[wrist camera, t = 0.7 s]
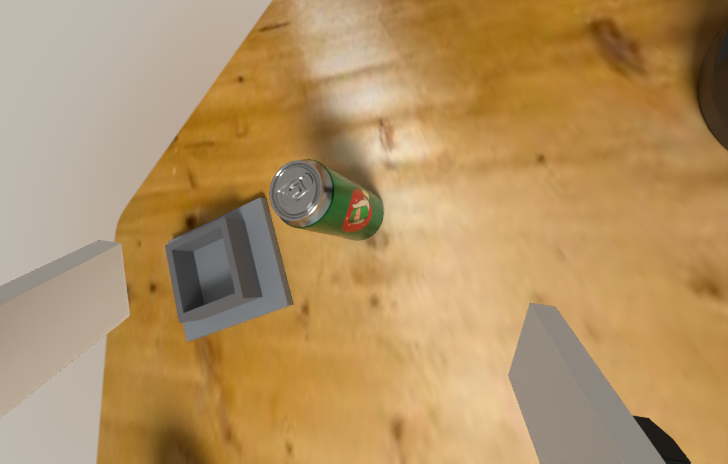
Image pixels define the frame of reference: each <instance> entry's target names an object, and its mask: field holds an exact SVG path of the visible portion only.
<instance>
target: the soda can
mask: <svg viewBox="0 0 728 464" xmlns="http://www.w3.org/2000/svg"><path fill="white" fill-rule="evenodd" d="M269 195H270V202H271V205H272V208H273V210H274V211H275V212H276V214H277V215H278V216H279V217H280V218H281V219H282V220H283V221H284V222H285V223H286V224H288V225H290V226H292V227H295V228H299V229H304V230H309V231H313V232H318V233H323V234H327V235H332V236H337V237H341V238H346V239H351V240H357V241H359V240H365V239H367V238H369V237H371V236H373V235H374V234H375V233H376V232H377V230H378V229H379V228H380V226H381V223H382V220H383V214H384V213H383V206H382V203H381V201H380V199H379V198H378V197H377V195H375V194H374V193H373V192H371V191H369V190H368V189H366V188H364V187H362V186H361V185H359V184H357V183H355V182H353V181H352V180H350V179H348V178H346V177H345V176H343V175H341V174H339V173H337V172H336V171H334V170H332V169H330V168H329V167H327V166H325V165H323V164H321V163H320V162H318V161H315V160H310V159H304V160H298V161H292V162H289V163H287V164H285V165H284V166H282V167H281V168H280V169H279V170H278V171H277V173H276V174H275V176H274V178H273V180H272V182H271V186H270V192H269Z"/></svg>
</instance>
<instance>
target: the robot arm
mask: <svg viewBox="0 0 728 464" xmlns="http://www.w3.org/2000/svg"><path fill="white" fill-rule="evenodd" d="M698 92H699V101H700V106H701V110H702V113H703V116H704V118H705V120H706V122H707V124H708V126H709V128H710V129H711V131H712V133H713V134H714V135H715V137H716V138H717V139H718V140H719V142H720V143H721V144H722V145H723V146H724V147H725V148H726V149H727V150H728V23H727V24H726V25H725V26H724V28H723V29H722V30H721V31H720V32H719V34H718V35H717V37H716V38H715V39H714V41H713V42H712V44H711V46H710V47H709V49H708V51H707V53H706V56H705V58H704V61H703V64H702V67H701V71H700V75H699V85H698ZM129 316H130V312H129V304H128V296H127V287H126V279H125V271H124V263H123V255H122V247H121V243H116V242H109V241H101V240H98V241H96V242H94V243H92V244H89V245H87V246H85V247H83V248H81V249H79V250H77V251H74V252H72V253H70V254H68V255H66V256H64V257H62V258H60V259H57V260H55V261H53V262H51V263H49V264H47V265H45V266H42V267H40V268H38V269H36V270H34V271H32V272H30V273H28V274H25V275H23V276H21V277H19V278H17V279H15V280H13V281H10V282H9V283H6V284H4V285H2V286H0V418H2V417H3V416H4V415H5V414H7V413H8V412H9V411H10V410H12V409H13V408H14V407H16V406H17V405H18V404H19V403H21V402H22V401H23V400H24V399H26V398H27V397H28V396H29V395H31V394H32V393H33V392H34V391H36V390H37V389H38V388H39V387H41V386H42V385H43V384H44V383H46V382H47V381H48V380H50V379H51V378H52V377H53V376H55V375H56V374H57V373H58V372H60V371H61V370H62V369H63V368H65V367H66V366H67V365H68V364H70V363H71V362H72V361H73V360H75V359H76V358H77V357H78V356H80V355H81V354H82V353H84V352H85V351H86V350H87V349H89V348H90V347H91V346H92V345H94V344H95V343H96V342H97V341H99V340H100V339H101V338H102V337H104V336H105V335H106V334H108V333H109V332H110V331H111V330H113V329H114V328H115V327H116V326H118V325H119V324H120V323H121V322H123V321H124V320H125V319H126V318H128V317H129ZM508 376H509V379H510V382H511V384H512V387H513V390H514V393H515V395H516V398H517V401H518V404H519V406H520V409H521V412H522V415H523V417H524V420H525V423H526V426H527V428H528V431H529V434H530V437H531V440H532V442H533V445H534V448H535V451H536V453H537V456H538V459H539V462H540V464H691V462H690V460H689V459H688V458H687V457H686V455H685V454H684V453H683V451H682V450H681V449H680V448H679V446H678V445H677V444H676V442H675V441H674V440H673V439H672V438H671V437H670V436H669V435H668V434H666V433H665V432H664V431H663V430H662V429H661V428H659V427H658V426H657V425H656V424H655V423H654V422H652V421H651V420H650V419H649V418H645V417H638V416H632V415H631V413H630V412H629V410H628V409H627V408H626V406H625V405H624V403H623V402H622V400H621V399H620V398H619V396H618V395H617V393H616V392H615V390H614V389H613V388H612V386H611V385H610V383H609V382H608V381H607V379H606V378H605V376H604V375H603V373H602V372H601V371H600V369H599V368H598V366H597V365H596V364H595V362H594V361H593V359H592V358H591V356H590V355H589V354H588V352H587V351H586V349H585V348H584V346H583V345H582V344H581V342H580V341H579V339H578V338H577V337H576V335H575V334H574V332H573V331H572V329H571V328H570V327H569V325H568V324H567V322H566V321H565V319H564V318H563V317H562V315H561V314H560V312H559V311H558V310H557V308H556V307H554V306H548V305H541V304H534V303H530V304H529V307H528V311H527V314H526V317H525V321H524V324H523V328H522V331H521V334H520V338H519V341H518V344H517V348H516V351H515V355H514V358H513V361H512V365H511V368H510V371H509V375H508Z"/></svg>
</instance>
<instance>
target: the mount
mask: <svg viewBox="0 0 728 464" xmlns="http://www.w3.org/2000/svg"><path fill="white" fill-rule="evenodd" d="M168 243H169V244H167V245H165V248H166V253H167V259H168V264H169V269H170V275H171V280H172V286H173V291H174V297H175V302H176V308H177V313H178V319H179V323H182V322H183V324H184V330H185V335H186V340H187V341H191V340H195V339H198V338H201V337H203V336H206V335H209V334H212V333H215V332H217V331H220V330H223V329H226V328H229V327H231V326H234V325H237V324H240V323H243V322H245V321H248V320H251V319H254V318H257V317H259V316H262V315H265V314H268V313H271V312H273V311H276V310H279V309H282V308H285V307H288V306H290V305H293V302H292V298H291V294H290V290H289V286H288V282H287V278H286V274H285V270H284V266H283V262H282V258H281V255H280V251H279V247H278V243H277V239H276V235H275V231H274V227H273V223H272V219H271V215H270V211H269V208H268V204H267V200H266V199H265V198H262V197H260V198H257V199H255V200H253V201H251V202H249V203H247V204H245V205H243V206H241V207H239V208H237V209H235V210H233V211H231V212H229V213H227V214H224V215H222V216H220V217H218V218H216V219H214V220H212V221H210V222H208V223H206V224H204V225H202V226H200V227H198V228H196V229H193V230H191V231H189V232H187V233H185V234H183V235H181V236H179V237H177V238H175V239H173V240H171V241H169V242H168Z"/></svg>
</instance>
